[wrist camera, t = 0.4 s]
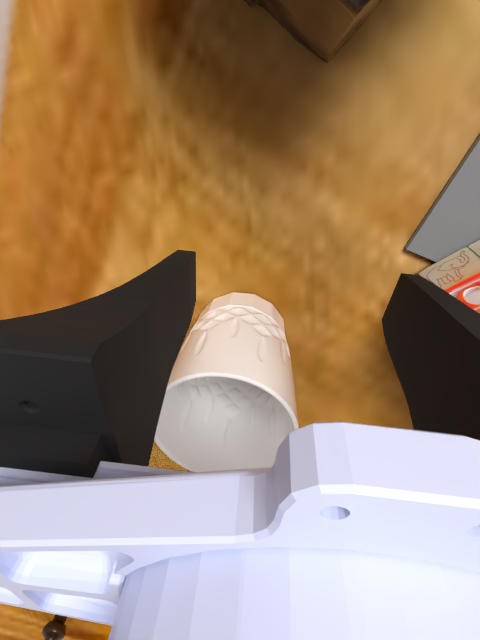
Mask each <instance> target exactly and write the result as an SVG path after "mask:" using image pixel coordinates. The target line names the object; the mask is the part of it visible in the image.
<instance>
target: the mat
mask: <svg viewBox="0 0 480 640" xmlns="http://www.w3.org/2000/svg"><path fill="white" fill-rule="evenodd" d="M478 240H480V134H479V136H478V137H477V139H476V140H475V142H474V143H473V145H472V146H471V148H470V149H469V151H468V152H467V154H466V155H465V157H464V158H463V160H462V161H461V163H460V164H459V166H458V168H457V169H456V171H455V172H454V174H453V175H452V177H451V178H450V180H449V181H448V183H447V184H446V186H445V187H444V189H443V190H442V192H441V193H440V195H439V196H438V198H437V199H436V201H435V202H434V204H433V205H432V207H431V208H430V210H429V211H428V213H427V214H426V216H425V217H424V219H423V220H422V222H421V223H420V225H419V226H418V228H417V229H416V231H415V232H414V234H413V235H412V237H411V238H410V240H409V241H408V243H407V244H406V246H405V247H404V248H405V249H406V250H409V251H411V252H413V253H416V254H418V255H421V256H423V257H425V258H428V259H430V260H432V261H435V262H438V261H440V260H442V259H444V258H446V257H447V256H449V255H451V254H453V253H455V252H457V251H459V250H461V249H463V248H465V247H468V246H469V245H471V244H473V243H475V242H477V241H478Z"/></svg>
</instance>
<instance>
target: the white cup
mask: <svg viewBox="0 0 480 640" xmlns="http://www.w3.org/2000/svg"><path fill="white" fill-rule="evenodd" d="M296 429H299V425H298V416H297V407H296V400H295V390H294V380H293V372H292V367H291V358H290V352H289V346H288V344H287V341H286V334H285V327H284V320H283V318H282V317H281V315H280V314H279V312H278V311H277V310H276V308H275V307H274V306H273V304H272V303H270V302H268V301H266V300H264V299H262V298H260V297H259V296H257V295H255V294H249V293H237V292H232V293H229V294H226V295H223V296H221V297H218V298H215V299H213V300H212V302H211V303H210V304H209V305H208V306H207V307H206V308H205V309H204V310H203V311H202V312H201V314H200V316H199V318H198V320H197V322H196V324H195V325H194V326H193V328H192V329H191V331H190V332H189V334H188V336H187V338H186V340H185V342H184V343H183V345H182V346H181V349H180V351H179V354H178V356H177V359H176V361H175V364H174V366H173V369H172V372H171V375H170V378H169V382H168V385H167V389H166V393H165V397H164V401H163V405H162V409H161V413H160V417H159V421H158V425H157V429H156V433H155V438H154V441H155V442H156V444H157V445H158V447H159V448H160V449H161V450H162V451H163V453H164V454H165V455H167V456H168V457H169V458H170V459H171V460H173V461H174V462H175V463H177V464H178V465H180V466H182V467H183V468H185V469H187V470H189V471H192V472H209V471H224V470H239V469H254V468H269V467H272V466H273V464H274V462H275V458H276V454H277V450H278V447H279V446H280V444H281V443H282V442H283V440H284V439H285V438H286V437H287V435H288V434H289V433H290V432H292V431H294V430H296Z"/></svg>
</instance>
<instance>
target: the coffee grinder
mask: <svg viewBox="0 0 480 640" xmlns="http://www.w3.org/2000/svg"><path fill="white" fill-rule="evenodd" d="M244 1H245V2H247V4H248V5H249V6H251V7H253V6H254V5H256V4H258V5H260V6H262V7H264V8H265V9H266V10H267V11H268V12H269V13H270V14H271V15H272V16H273V17H274V18H275V19H276V20H277V21H278V22H279V23H280V24H281V25H282V26H283V27H284V28H285V29H286V30H287V31H288V32H289V33H290V34H291V35H292V36H293V37H294V39H295V40H297V41H298V42H299V43H301V44H302V45H303V46H305V47H306V48H307V49H309V50H310V51H312V52H313V53H314V54H316V55H317V56H318V57H320V58H321V59H322V60H324V61H325V62H326V63H328V62H329V61H330V59H331V58H332V57H333V56H334V55H335V54H336V53H337V51H338V50H339V49H340V48H341V47H342V46H343V45H344V43H345V42H346V41H347V40H348V39H349V38H350V37H351V35H352V34H353V33H354V32H355V31H356V30H357V29H358V27H359V26H360V25H361V24H362V23H363V22H364V21H365V19H366V18H367V17H368V16H369V15H370V14H371V12H372V11H373V10H374V9H375V7H376V6H377V5H378V4H379V2H380V1H381V0H244Z"/></svg>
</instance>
